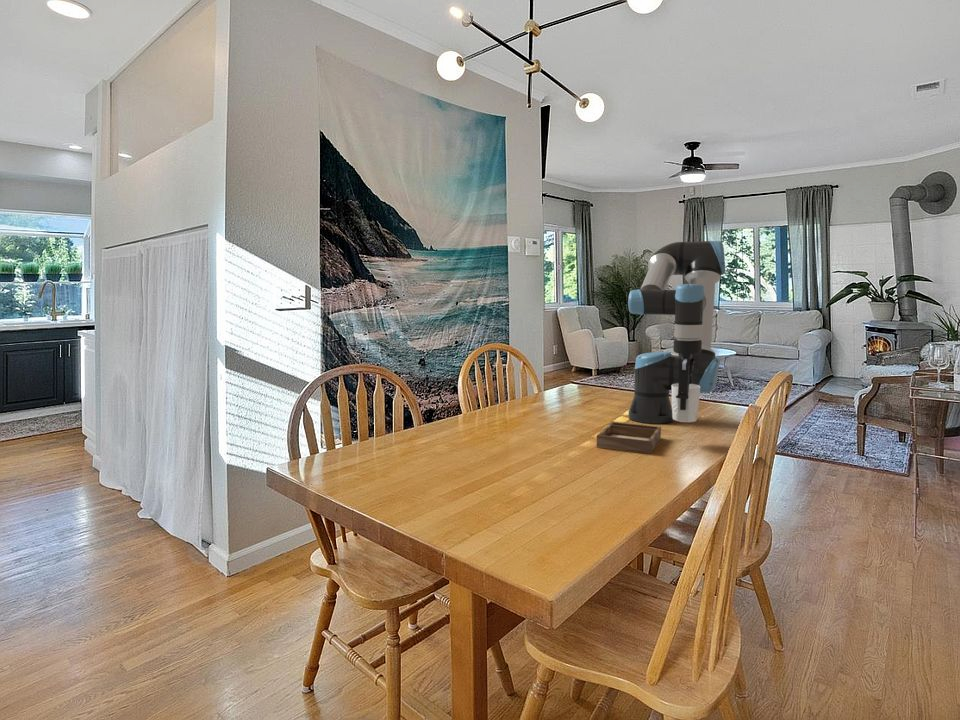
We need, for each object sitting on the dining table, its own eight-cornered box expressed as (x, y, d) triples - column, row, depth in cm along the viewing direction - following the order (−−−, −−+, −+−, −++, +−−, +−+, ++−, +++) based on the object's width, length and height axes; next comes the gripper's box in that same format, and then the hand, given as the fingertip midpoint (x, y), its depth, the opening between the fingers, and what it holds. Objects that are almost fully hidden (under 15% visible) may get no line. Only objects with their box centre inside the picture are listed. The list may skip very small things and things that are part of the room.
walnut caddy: (611, 432, 178) (611, 421, 178) (660, 438, 172) (661, 426, 171) (596, 447, 162) (596, 435, 162) (650, 454, 156) (650, 441, 155)
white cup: (701, 423, 160) (702, 388, 158) (671, 422, 162) (673, 388, 160) (696, 416, 168) (697, 383, 166) (668, 415, 169) (669, 382, 168)
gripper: (678, 334, 171) (675, 407, 175) (668, 342, 153) (665, 424, 157) (705, 335, 168) (701, 410, 172) (698, 344, 150) (694, 427, 154)
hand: (684, 416), depth 164 cm, fingers closed on white cup, 8 cm apart
